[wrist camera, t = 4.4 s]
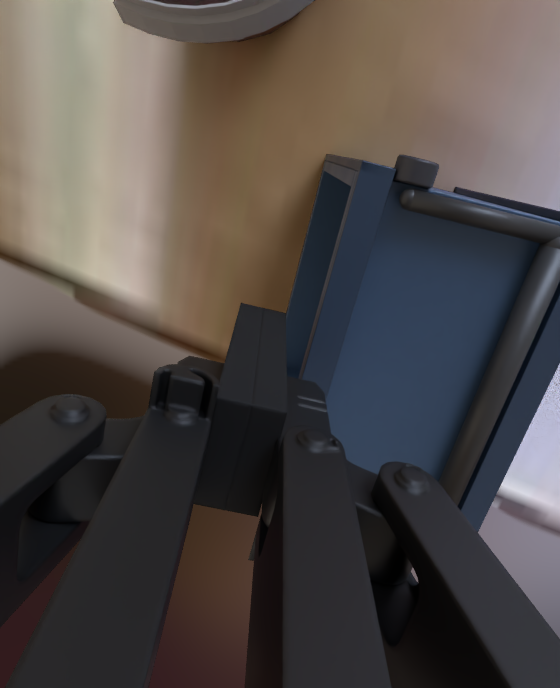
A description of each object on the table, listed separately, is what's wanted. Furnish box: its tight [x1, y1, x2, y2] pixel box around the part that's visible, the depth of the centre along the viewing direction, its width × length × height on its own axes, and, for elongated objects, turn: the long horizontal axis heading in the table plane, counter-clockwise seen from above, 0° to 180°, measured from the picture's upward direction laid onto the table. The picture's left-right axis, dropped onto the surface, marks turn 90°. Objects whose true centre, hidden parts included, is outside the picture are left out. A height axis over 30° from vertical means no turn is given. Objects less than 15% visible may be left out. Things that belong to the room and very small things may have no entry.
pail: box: [286, 154, 560, 533], centre depth 22 cm, size 13×8×13 cm, turn 167°
